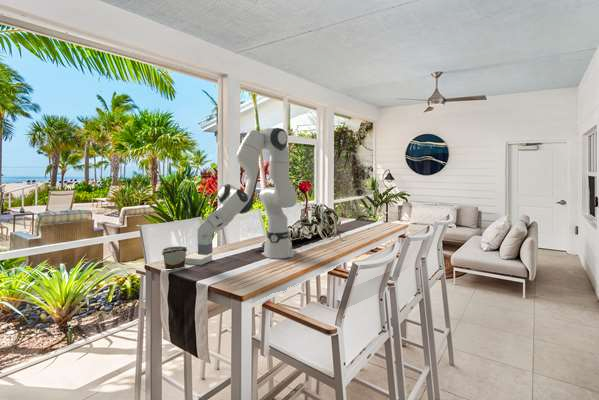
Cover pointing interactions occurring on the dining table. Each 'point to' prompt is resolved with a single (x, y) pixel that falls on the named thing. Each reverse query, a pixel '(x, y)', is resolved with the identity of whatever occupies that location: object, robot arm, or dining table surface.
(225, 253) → the dining table surface
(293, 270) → the dining table surface
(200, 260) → the stand
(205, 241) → the block
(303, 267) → the dining table surface
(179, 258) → the food container
